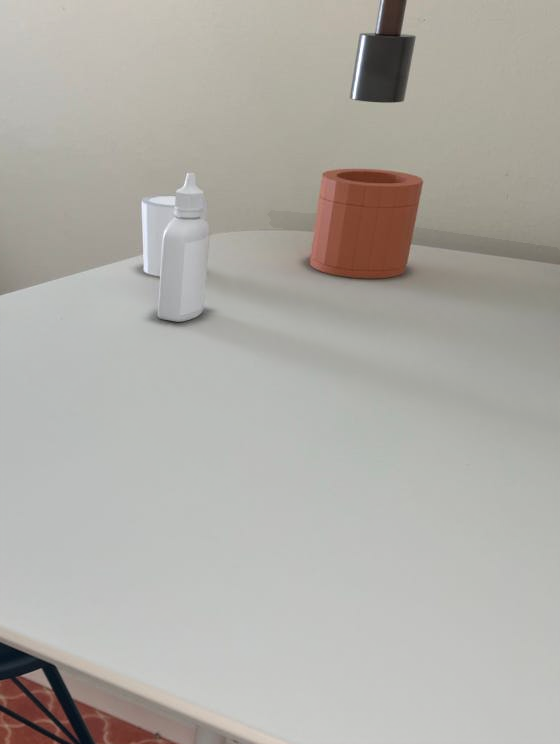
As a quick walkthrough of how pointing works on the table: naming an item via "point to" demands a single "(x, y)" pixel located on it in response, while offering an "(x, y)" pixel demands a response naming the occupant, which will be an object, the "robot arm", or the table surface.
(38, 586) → the table surface
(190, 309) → the eye dropper bottle
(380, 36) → the brush
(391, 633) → the table surface
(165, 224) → the white cup
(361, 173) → the jar
